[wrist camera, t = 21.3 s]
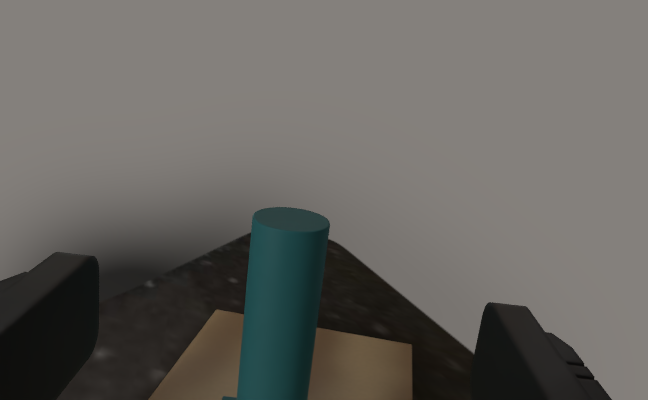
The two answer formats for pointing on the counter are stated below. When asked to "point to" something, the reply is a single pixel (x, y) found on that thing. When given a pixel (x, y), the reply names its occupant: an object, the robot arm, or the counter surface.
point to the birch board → (326, 373)
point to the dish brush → (281, 304)
